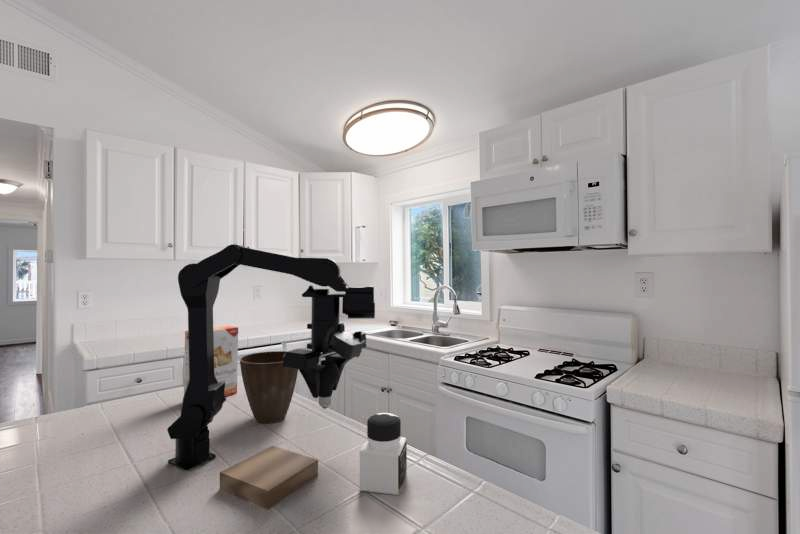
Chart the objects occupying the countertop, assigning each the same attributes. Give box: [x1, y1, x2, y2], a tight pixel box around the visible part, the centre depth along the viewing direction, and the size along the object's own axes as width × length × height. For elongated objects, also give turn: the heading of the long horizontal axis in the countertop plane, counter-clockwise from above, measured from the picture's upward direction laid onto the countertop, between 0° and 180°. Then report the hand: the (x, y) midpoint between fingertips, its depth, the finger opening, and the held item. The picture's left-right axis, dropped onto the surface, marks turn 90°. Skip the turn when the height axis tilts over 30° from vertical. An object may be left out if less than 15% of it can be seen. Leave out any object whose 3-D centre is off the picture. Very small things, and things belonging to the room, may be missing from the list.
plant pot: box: [239, 350, 299, 424], centre depth 103 cm, size 15×15×16 cm
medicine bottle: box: [359, 412, 408, 496], centre depth 72 cm, size 7×7×12 cm
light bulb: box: [318, 359, 340, 409], centre depth 82 cm, size 6×6×10 cm
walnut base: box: [219, 445, 319, 510], centre depth 72 cm, size 12×12×3 cm
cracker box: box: [183, 325, 239, 397], centre depth 119 cm, size 14×6×21 cm, turn 147°
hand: (324, 393), depth 82 cm, fingers closed on light bulb, 5 cm apart
